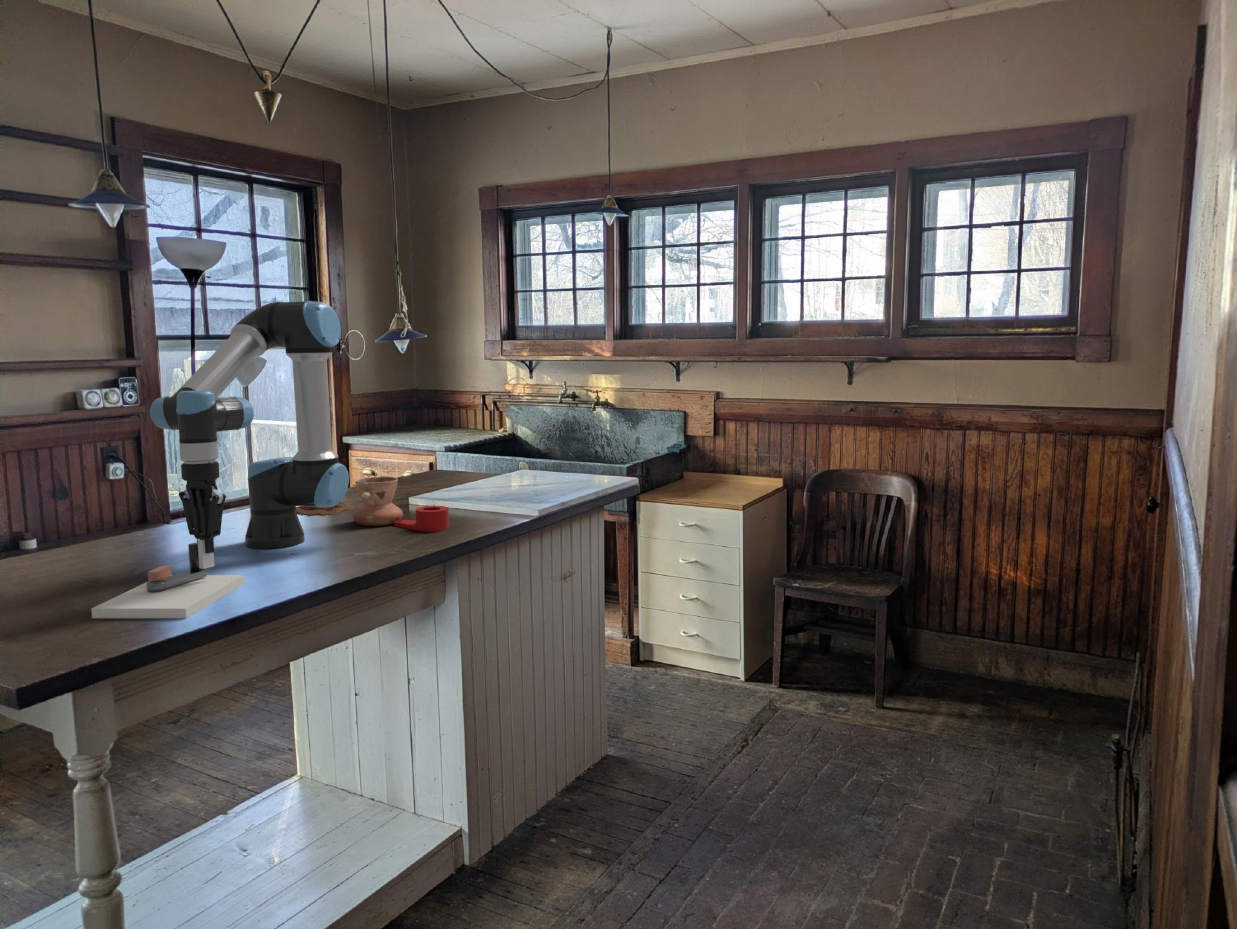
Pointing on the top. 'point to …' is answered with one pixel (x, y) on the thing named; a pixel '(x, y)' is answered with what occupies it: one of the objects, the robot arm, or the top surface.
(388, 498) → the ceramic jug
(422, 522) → the lever
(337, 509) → the plant
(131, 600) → the board
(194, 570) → the swing bar
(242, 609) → the top surface
